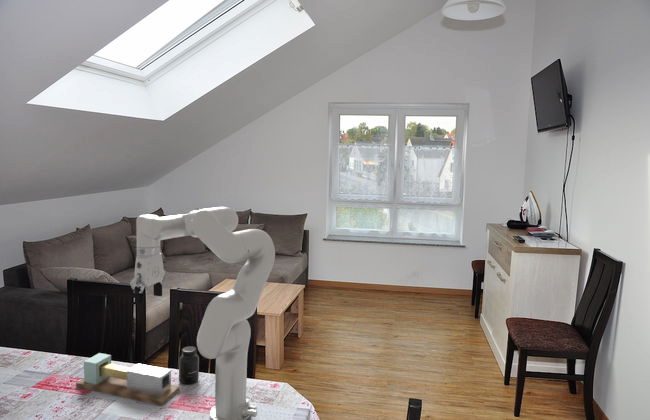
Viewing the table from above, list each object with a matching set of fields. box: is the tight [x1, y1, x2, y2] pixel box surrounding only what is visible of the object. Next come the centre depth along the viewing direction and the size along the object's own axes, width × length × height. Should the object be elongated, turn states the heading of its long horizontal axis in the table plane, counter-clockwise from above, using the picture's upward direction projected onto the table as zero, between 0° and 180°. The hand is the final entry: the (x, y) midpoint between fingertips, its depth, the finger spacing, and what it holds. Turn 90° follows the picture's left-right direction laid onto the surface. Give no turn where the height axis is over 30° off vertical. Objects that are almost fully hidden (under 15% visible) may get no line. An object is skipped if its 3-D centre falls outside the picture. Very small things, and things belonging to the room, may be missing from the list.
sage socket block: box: [83, 352, 112, 384], centre depth 156 cm, size 5×7×8 cm
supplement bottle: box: [178, 346, 200, 386], centre depth 160 cm, size 7×7×12 cm
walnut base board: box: [75, 377, 181, 407], centre depth 153 cm, size 34×10×2 cm, turn 74°
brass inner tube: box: [99, 363, 131, 380], centre depth 153 cm, size 20×3×3 cm, turn 74°
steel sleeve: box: [127, 363, 172, 397], centre depth 150 cm, size 13×6×7 cm, turn 74°
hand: (148, 299), depth 154 cm, fingers open, 9 cm apart
